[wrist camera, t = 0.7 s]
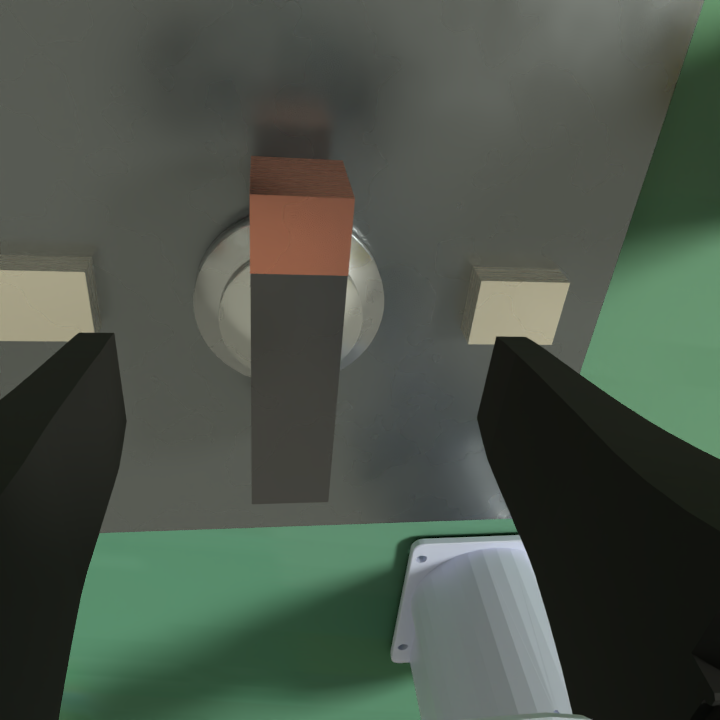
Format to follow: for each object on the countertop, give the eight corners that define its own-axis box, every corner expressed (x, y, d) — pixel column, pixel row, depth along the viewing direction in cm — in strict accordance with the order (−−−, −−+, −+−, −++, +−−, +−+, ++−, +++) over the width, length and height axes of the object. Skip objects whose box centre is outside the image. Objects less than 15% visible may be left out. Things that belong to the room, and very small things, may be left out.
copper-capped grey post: (348, 433, 24) (359, 501, 21) (223, 435, 23) (219, 505, 20) (376, 156, 18) (396, 200, 15) (213, 148, 18) (204, 192, 15)
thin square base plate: (523, 501, 30) (538, 535, 28) (9, 517, 27) (-7, 556, 25) (706, -72, 18) (751, -70, 16) (-198, -173, 15) (-256, -184, 13)
